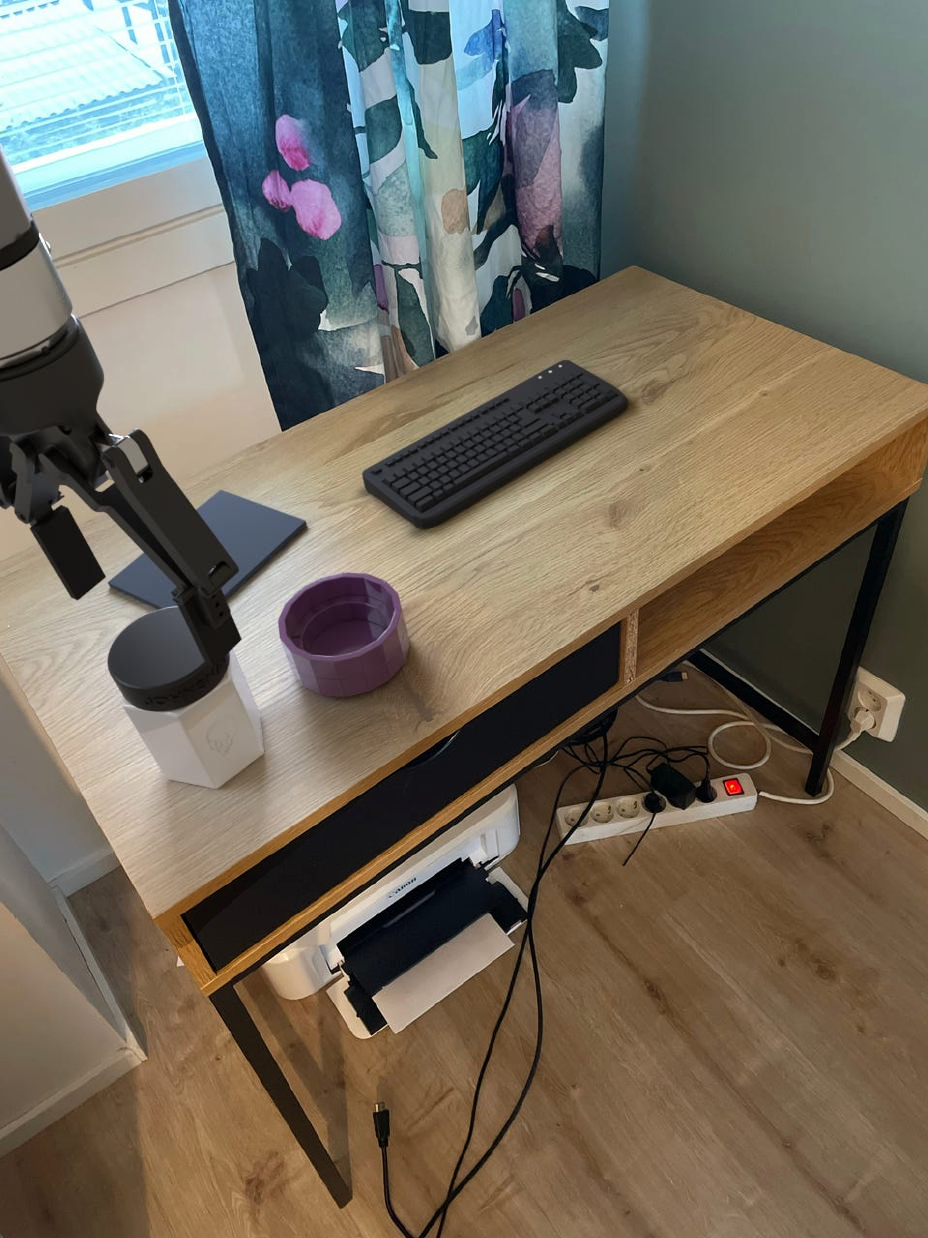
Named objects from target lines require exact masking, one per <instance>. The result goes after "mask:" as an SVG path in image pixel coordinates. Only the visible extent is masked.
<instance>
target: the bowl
mask: <svg viewBox="0 0 928 1238" xmlns="http://www.w3.org/2000/svg"><path fill="white" fill-rule="evenodd" d="M277 625H278V636H279V640H280V642H281V645H282V647H283V651H284V653H285V656H286V658H287V661H288V664H289V667H290V669H291V673H292V674H293V675H294V677H295V678H296V679H297V681H299V683H300V685H302V687H304V688H306V689H308V690H310V691H313V692H315V693H317V694H319V695H321V696H323V697H324V696H327V697H339V698H347V697H348V698H349V697H352V696H356V695H360V694H365V693H369V692H371V691H373V690H375V689H376V688H379V687H380V686H382V685H383V684H385V683H386V682H387V683H388V682H389V681H390V680H391V679H392V678H393V677H394V676H395V675H396V674H397V673H398V672H399V670H400V669H401V668H402V666H403V665H404V664H405V663H406V660H407V656H408V653H409V650H410V646H411V644H410V639H409V634H408V630H407V625H406V621H405V617H404V612H403V608H402V604H401V598H400V594H399V593H398V592H397V590H395V588H393V587H392V586H391V585H390V584H389V582H388V581H386V579H385V580H384V579H383V578H380V577H378V576H375V575H372V574H371V573H366V572H365V573H364V572H349V571H348V572H340V573H334V574H330V575H327V576H322V577H319V578H317V579H316V580H314V581H312V582H309V583H308V584H306V585H304V586H302V587H301V588H300V589H298V591H296V592H295V593H294V594H293V595H292V596H291V597H290V598H289V599H288V600H287V601H286V602H285V603H284V606H283V607H282V610H281V612H280V615H279V617H278V619H277Z"/></svg>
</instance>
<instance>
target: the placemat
mask: <svg viewBox="0 0 928 1238" xmlns="http://www.w3.org/2000/svg"><path fill="white" fill-rule="evenodd" d="M195 509H196V511H197V512H198V513H199V515H200V516H201V517H202V519H203V520H204V521H205V523H206V524H207V525H208V527H209V528H210V529H211V531H212V532H213V533H214V535H215V536H216V537H217V539H218V540H219V542H220V543H221V544H222V546H223V547H224V548H225V550H226V551H227V552H228V554H229V555H230V556H231V558H232V559H233V560H234V562H235V563H236V564H237V566H238V568H239V572H238V573H237V574H236V575H235V576H234V577H233V578H232V579H230V580H229V581H228V582H227V583H226V584H225V585H224V586H223V587H222V588H221V589H222V591H223V594H224V596H225V598H226V599H225V600H226V601H227V600H228V599H229V598H230V597H231V596H232V595H233V594H234V593H235V592H236V591H237V590H239V589H240V588H241V587H242V586H243V585H244V584H245V583H246V582H247V581H249V579H250V578H252V577H253V575H255V574H256V573H257V572H258V571H259V570H260V569H261V568H262V567H264V566H265V565H266V564H267V563H268V562H269V561H270V560H271V559H272V558H273V557H274V556H276V555H277V553H279V552H280V550H282V549H283V548H284V547H285V546H286V545H287V544H289V542H291V541H292V540H293V539H294V538H295V537H296V536H297V535H298V534H299V533H300V532H301V531H302V530H304V529H305V527H307V526H308V525H307V524H308V523H307V521H306V520H305V519H302V518H299V517H297V516H294V515H291V514H288V513H285V512H283V511H280V510H278V509H275V508H272V507H269V506H266V505H264V504H261V503H258V502H255V501H254V500H250V499H247V498H245V497H242V496H239V495H237V494H234V493H231V492H229V491H226V490H223V489H219V490H218V491H217V492H215V493H214V494H213V495H212V496H210V497H209V498H208V499H207V500H206V501H205V502H204V503H202V504H201V505H200V506H199V507H197V508H195ZM107 584H108V587H110V588H112V589H113V590H117V591H118V592H120V593H122V594H124V595H127V596H128V597H131V598H133V599H135V600H137V601H140V602H142V603H144V604H146V605H147V606H150V607H152V608H155V609H156V610H159V609H163V608H167V607H173V606H178V605H177V603H176V602H174V601H173V600H172V599H173V598H174V597H173V595H172V593H171V592H172V591H173V590H174V589H175V588H176V587H177V586H176V585H175V584H174V583H173V582H172V581H171V580H170V579H169V578H168V577H167V576H166V575H165V574H164V573H163V572H162V571H161V570H160V569H159V568H158V567H157V566H156V564H155V563H154V562H153V561H152V560H151V559H150V558H149V557H148V556H147V555H146V554H145V553H144V552H143V553H141V554H140V555H139V556H137V557H136V558H135V559H134V560H133V561H132V562H130V563H129V564H128V565H127V566H126V567H124V568H123V569H122V570H121V571H119V572H118V573H116V575H115V576H113V577H112V578H111V579H110V580H108V582H107Z"/></svg>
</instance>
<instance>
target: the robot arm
mask: <svg viewBox="0 0 928 1238" xmlns="http://www.w3.org/2000/svg"><path fill="white" fill-rule="evenodd" d="M51 255H52V248H51V246H50V243H48V242H47V241H46V240H45V239H43V237H42V235H41V233H40V230H39V227H38V224H37V223H36V220H35V218H34V216H33V213H32V211H31V210H30V207H29V205H28V202H27V201H26V198H25V195H24V193H23V192H22V189H21V187H20V185H19V182H18V180H17V178H16V175H15V173H14V170H13V168H12V166H11V163H10V161H9V159H8V157H7V155H6V152H5V149H4V148H3V145H2V143H1V142H0V508H2V509H3V510H5V511H6V510H7V509H9V508H11V507H12V508H13V510H14V511H13V512H14V515H15V516H16V518H17V519H18V520H19V521H20V522H22V523H23V524H25V525H30V527H29V530H30V532H31V534H32V535H33V538H34V539H35V540H36V542H37V544H38V546H39V547H40V548H41V550H42V552H43V553H44V555H45V556H46V559H47V560H48V562H49V563H50V565H51V567H52V568H53V571H54V572H55V573H56V575H57V577H58V578H59V580H60V582H61V583H62V585H63V586H64V588H65V590H66V592H67V593H68V595H69V596H70V598H71V599H74V600H75V601H77V602H78V601H79V600H80V599H82V598H83V597H84V596H85V595H86V594H88V593H89V592H90V591H91V590H92V589H94V588H95V587H96V586H98V584H100V583H101V582H102V581H104V580H105V579H106V578H107V576H106V574H105V572H104V570H103V569H102V566H101V565H100V563H99V561H98V560H97V557H96V556H95V554H94V552H93V550H92V548H91V546H90V545H89V543H88V541H87V539H86V538H85V536H84V534H83V532H82V530H81V528H80V526H79V525H78V523H77V522H76V519H75V517H74V516H73V514H72V512H71V510H70V508H69V507H67V506H65V505H62V504H60V505H59V506H57V507H56V508H55V509H53V506H55V505H56V504H57V503H59V501H62V499H64V498H65V496H66V495H65V494H63V492H62V491H61V490H60V486H66V487H67V488H69V489H71V490H72V491H73V492H74V493H75V494H76V495H77V496H78V497H79V498H80V499H81V501H83V502H84V503H85V504H86V505H87V507H88V508H89V509H90V510H91V511H92V512H95V513H105V514H106V515H108V516H109V517H110V519H111V520H112V521H113V522H114V523H115V524H116V525H117V526H118V527H119V528H120V529H121V530H122V531H123V532H124V533H125V534H126V535H127V536H128V537H129V538H130V539H131V541H132V542H133V543H134V544H135V545H136V546H137V547H138V548H139V549H140V550H141V551H142V552H143V553H145V554H146V555H147V556H148V557H149V558H150V559H151V560H152V561H153V562H154V563H155V564H156V566H157V567H158V568H159V569H160V570H161V571H162V572H163V573H164V574H165V575H166V576H167V577H168V578H169V579H170V580H171V581H172V582H173V583H174V584H175V585H176V586H177V587H176V588H175V589H174V590H173V591H172V592H171V593H172V595H173V597H174V598H173V599H172V600H173V601H174V602H176V603H177V605H178V607H179V609H180V611H181V613H182V616H183V618H184V620H185V622H186V624H187V626H188V628H189V630H190V632H191V634H192V636H193V638H194V640H195V642H196V644H197V646H198V648H199V650H200V652H201V655H202V657H203V659H204V661H205V663H206V664H208V665H211V666H213V667H215V666H216V665H217V664H218V663H219V662H220V661H221V660H222V659H223V658H224V657H225V656H226V655H227V654H228V653H229V652H230V651H231V650H232V649H233V650H234V648H235V647H236V646H237V645H238V644H240V642H241V641H242V640H243V639H242V636H241V634H240V632H239V629H238V627H237V625H236V622H235V620H234V618H233V615H232V612H231V607H230V605H229V603H228V601H227V599H226V598H225V596H224V594H223V591H222V589H221V588H222V587H223V586H224V585H225V584H226V583H227V582H228V581H229V580H230V579H232V578H233V577H234V576H235V575H236V574H237V573H238V572H239V568H238V566H237V564H236V563H235V562H234V560H233V559H232V558H231V556H230V555H229V554H228V552H227V551H226V550H225V548H224V547H223V546H222V544H221V543H220V542H219V540H218V539H217V537H216V536H215V535H214V533H213V532H212V531H211V529H210V528H209V527H208V525H207V524H206V523H205V521H204V520H203V519H202V517H201V516H200V515H199V513H198V512H197V511H196V509H197V508H195V507H194V505H193V504H192V502H191V501H190V500H189V498H188V497H187V495H186V494H185V493H184V492H183V491H182V489H181V488H180V486H179V485H178V484H177V482H176V481H175V480H174V478H173V477H172V476H171V474H170V473H169V471H168V470H167V469H166V467H165V466H164V464H163V463H162V460H161V459H160V457H159V455H158V453H157V451H156V449H155V447H154V445H153V444H152V441H151V439H150V438H149V436H148V435H147V434H146V433H145V432H144V431H143V430H142V429H140V428H134V429H133V430H131V431H130V432H129V433H127V434H126V435H125V436H120V435H115V434H114V433H113V431H112V430H111V428H110V427H109V426H108V425H107V424H106V422H105V421H104V419H103V417H102V416H101V415H100V413H99V412H98V408H97V406H98V402H99V401H98V400H99V397H100V395H101V392H102V390H103V387H104V384H105V373H104V368H103V367H102V364H101V363H100V360H99V358H98V355H97V354H96V351H95V349H94V347H93V345H92V343H91V340H90V338H89V336H88V333H87V331H86V329H85V326H84V325H83V323H82V321H81V320H80V318H78V317H77V316H76V315H74V314H73V313H72V312H73V308H74V307H73V302H72V300H71V298H70V296H69V293H68V291H67V289H66V287H65V285H64V282H63V281H62V279H61V277H60V274H59V272H58V270H57V268H56V266H55V264H54V261H53V259H52V257H51ZM109 480H110V481H113V483H112V484H111V485H109V486H108V487H107V488H105V489H104V490H102V491H100V490H99V491H98V490H97V489H98V488H99V487H101V486H102V485H103V484H104V483H106V482H107V481H109ZM62 494H63V495H62ZM225 599H226V600H225Z"/></svg>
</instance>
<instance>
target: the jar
mask: <svg viewBox="0 0 928 1238" xmlns="http://www.w3.org/2000/svg"><path fill="white" fill-rule="evenodd" d="M106 661H107V669H108V672H109V674H110V677H111V679H113V681H114V683H115V685H116V686H117V688H118V690H119V691H120V693H121V695H122V699H121V700H122V701H121V702H122V704H121V705H122V708H123V710H124V711H125V713H126V715H127V717H128V718H129V720H130V721H131V723H132V725H133V727H134V728H135V730H136V731H137V733H138V735H139V737H140V738H141V740H142V742H143V743H144V745H145V746H146V749H147V750H148V751H149V753H150V755H151V757H152V758H153V760H154V762H155V763H156V764H157V766H158V768H159V770H160V771H161V773H162V774H163V776H164V778H165V779H166V780H168V781H174V782H178V783H184V784H189V785H194V786H199V787H204V788H209V789H213V790H218V789H219V788H221V787H222V786H223V785H225V784H226V783H227V782H229V781H230V780H231V779H232V778H234V777H235V776H236V775H238V774H240V773H241V772H242V771H243V770H244V769H246V768H247V767H248V766H249V765H251V764H252V763H254V762H255V761H256V760H257V759H259V758H260V757H262V756H263V755H264V754H265V747H264V737H263V731H262V730H263V729H262V722H261V721H262V720H261V711H260V709H259V706H258V704H257V702H256V699H255V697H254V694H253V693H252V690H251V688H250V685H249V683H248V681H247V678H246V676H245V673H244V672H243V669H242V667H241V665H240V662H239V659H238V657H237V655H236V653H235V651H234V648H233V649H232V650H231V651H230V652H229V653H228V654H227V655H226V656H225V657H224V658H223V659H222V660H221V661H220V662H219V663H218V664H217V665H216V666H215V667H213V666H211V665H208V664H206V663H205V661H204V659H203V657H202V655H201V652H200V650H199V648H198V646H197V644H196V642H195V640H194V638H193V636H192V634H191V632H190V630H189V628H188V626H187V624H186V622H185V620H184V618H183V616H182V613H181V611H180V609H179V607H178V606H173V607H167V608H163V609H156V610H153V611H151V612H148V613H146V614H144V615H142V616H140V617H137V618H136V620H134V621H132V622H131V623H130V624H128V625H127V626H126V627H125V628H124V629H122V631H120V633H119V634H118V635H117V636H116V638H115V639H114V641H113V642H112V644H111V646H110V649H109V651H108V654H107V660H106Z"/></svg>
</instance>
